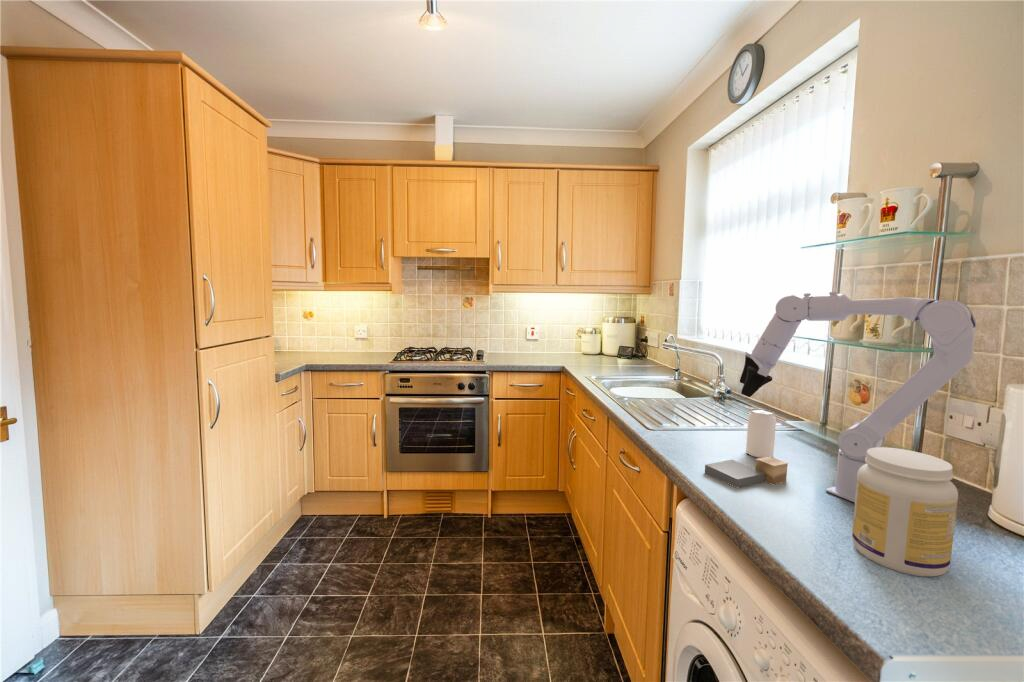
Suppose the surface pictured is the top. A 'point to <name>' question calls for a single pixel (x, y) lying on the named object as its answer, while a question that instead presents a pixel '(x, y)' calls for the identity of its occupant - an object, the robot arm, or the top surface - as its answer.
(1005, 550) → the top surface
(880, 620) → the top surface
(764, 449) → the can
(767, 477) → the oak block
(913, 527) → the supplement tub
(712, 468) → the slate base
